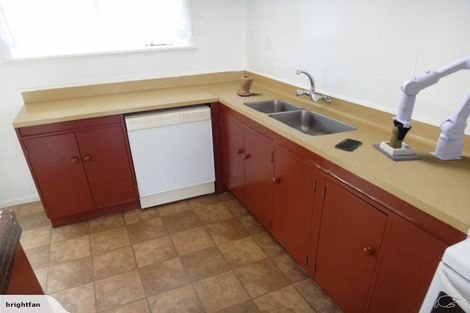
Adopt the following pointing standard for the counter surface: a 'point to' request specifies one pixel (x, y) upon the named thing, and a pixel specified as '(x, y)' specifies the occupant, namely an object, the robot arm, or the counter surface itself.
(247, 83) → the stone cup
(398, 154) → the socket dock
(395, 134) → the cork
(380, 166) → the counter surface
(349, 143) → the phone
